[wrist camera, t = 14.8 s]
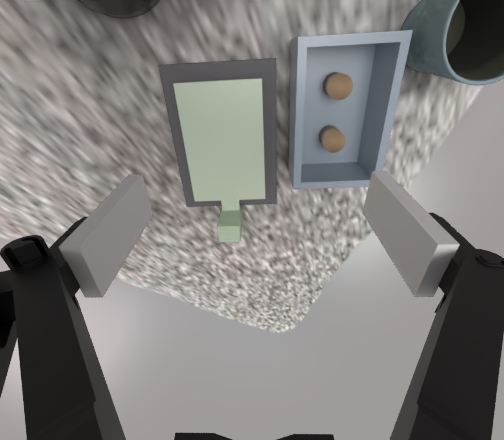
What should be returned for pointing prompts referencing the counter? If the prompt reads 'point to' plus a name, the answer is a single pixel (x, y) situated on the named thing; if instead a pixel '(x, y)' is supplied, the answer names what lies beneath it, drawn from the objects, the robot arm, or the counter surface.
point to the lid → (224, 145)
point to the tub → (343, 105)
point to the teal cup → (458, 39)
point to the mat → (225, 72)
